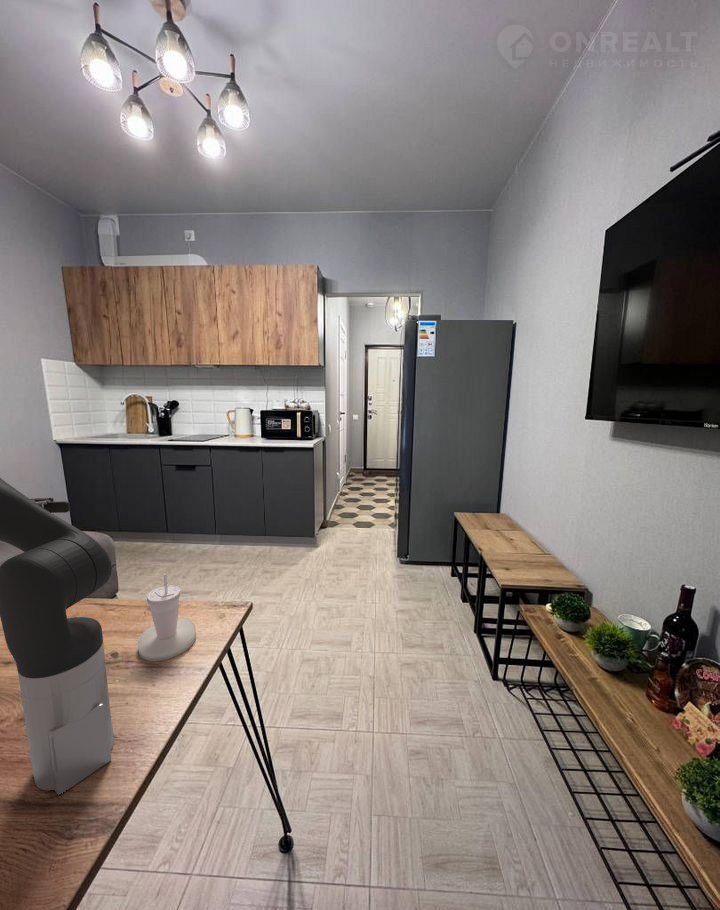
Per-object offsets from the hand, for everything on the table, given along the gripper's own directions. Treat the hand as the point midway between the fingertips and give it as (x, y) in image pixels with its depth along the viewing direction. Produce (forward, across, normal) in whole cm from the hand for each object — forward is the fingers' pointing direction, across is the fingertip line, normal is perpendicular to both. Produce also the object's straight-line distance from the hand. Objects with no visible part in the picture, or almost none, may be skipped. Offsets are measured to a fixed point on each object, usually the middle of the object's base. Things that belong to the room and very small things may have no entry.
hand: (54, 513), depth 70 cm
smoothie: (+19, 0, +28) cm, 34 cm away
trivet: (+19, 0, +30) cm, 35 cm away
